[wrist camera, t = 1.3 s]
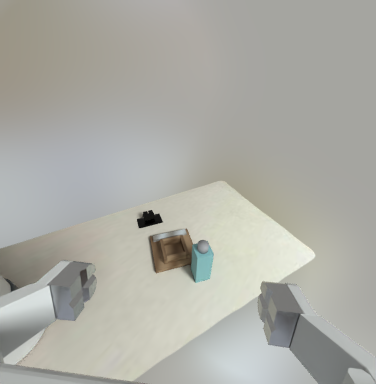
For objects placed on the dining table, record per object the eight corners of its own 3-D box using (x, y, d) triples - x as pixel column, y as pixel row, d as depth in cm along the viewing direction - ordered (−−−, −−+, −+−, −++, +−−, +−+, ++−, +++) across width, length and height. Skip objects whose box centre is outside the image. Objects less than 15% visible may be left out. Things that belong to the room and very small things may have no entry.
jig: (156, 273, 58) (155, 266, 56) (150, 238, 69) (149, 231, 67) (199, 262, 61) (199, 255, 59) (186, 230, 72) (187, 224, 70)
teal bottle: (195, 282, 56) (197, 253, 48) (191, 269, 59) (192, 239, 51) (209, 278, 57) (214, 249, 49) (204, 265, 60) (207, 236, 52)
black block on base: (162, 212, 81) (161, 204, 79) (166, 223, 76) (166, 215, 73) (132, 219, 77) (130, 211, 75) (135, 232, 72) (133, 223, 69)
